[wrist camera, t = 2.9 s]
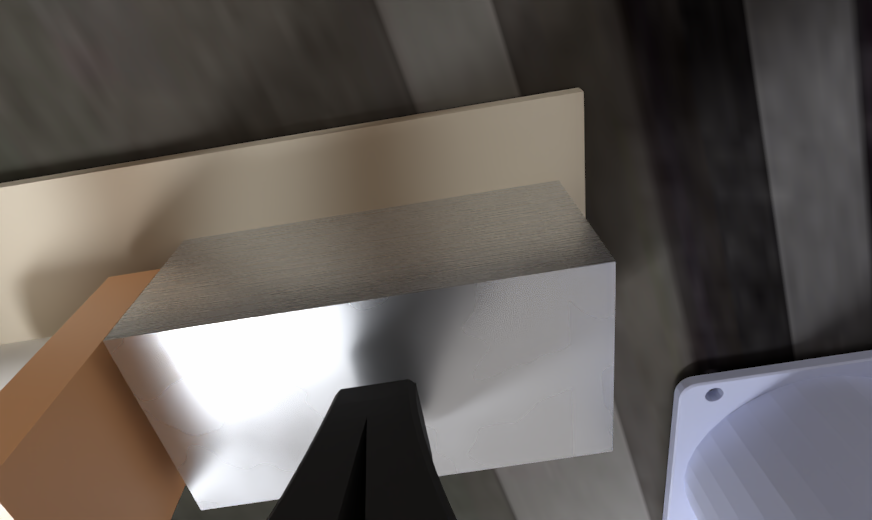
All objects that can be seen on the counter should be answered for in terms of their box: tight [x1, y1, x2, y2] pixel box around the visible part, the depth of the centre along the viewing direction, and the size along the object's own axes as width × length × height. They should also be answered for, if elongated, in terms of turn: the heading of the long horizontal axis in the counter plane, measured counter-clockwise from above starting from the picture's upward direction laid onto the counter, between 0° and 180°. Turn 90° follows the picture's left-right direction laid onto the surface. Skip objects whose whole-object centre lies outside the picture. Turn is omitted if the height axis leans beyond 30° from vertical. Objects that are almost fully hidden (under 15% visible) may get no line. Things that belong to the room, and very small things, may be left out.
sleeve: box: [103, 180, 616, 510], centre depth 12 cm, size 9×5×4 cm, turn 99°
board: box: [0, 88, 586, 345], centre depth 14 cm, size 22×8×1 cm, turn 99°
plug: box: [0, 269, 186, 520], centre depth 10 cm, size 12×4×6 cm, turn 99°
